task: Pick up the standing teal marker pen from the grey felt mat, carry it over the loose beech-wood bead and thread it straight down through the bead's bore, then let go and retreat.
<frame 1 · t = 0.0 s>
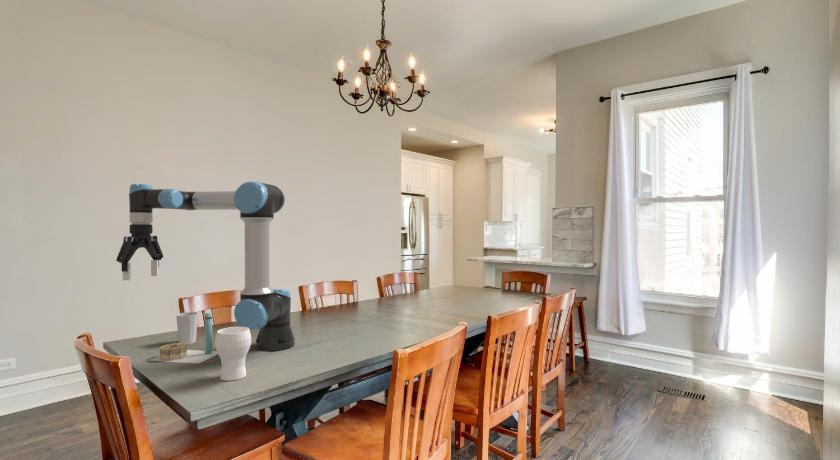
hand: (141, 278, 166), 28 cm above the table, fingers open, 13 cm apart
bead: (173, 357, 155), resting on mat
mat: (186, 356, 157), on the table
teal marker pen: (208, 353, 160), resting on mat
cup: (187, 343, 176), on the table
cup 2: (233, 377, 136), on the table
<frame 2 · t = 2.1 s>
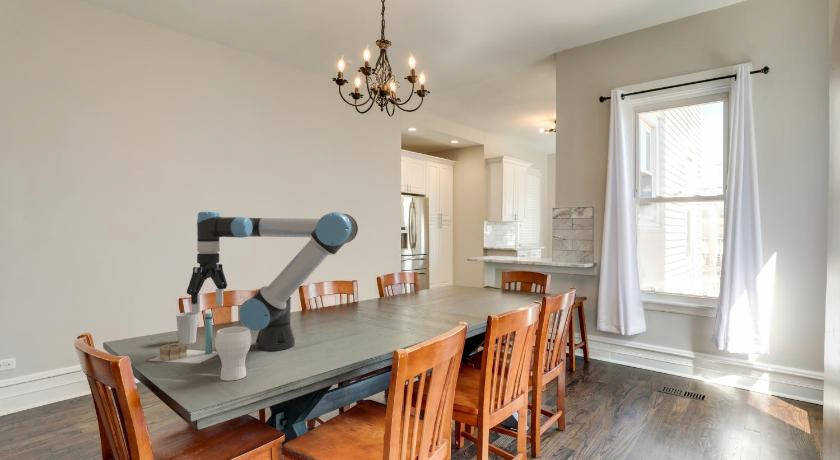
hand: (208, 309, 160), 17 cm above the table, fingers open, 13 cm apart
nothing on the table moved.
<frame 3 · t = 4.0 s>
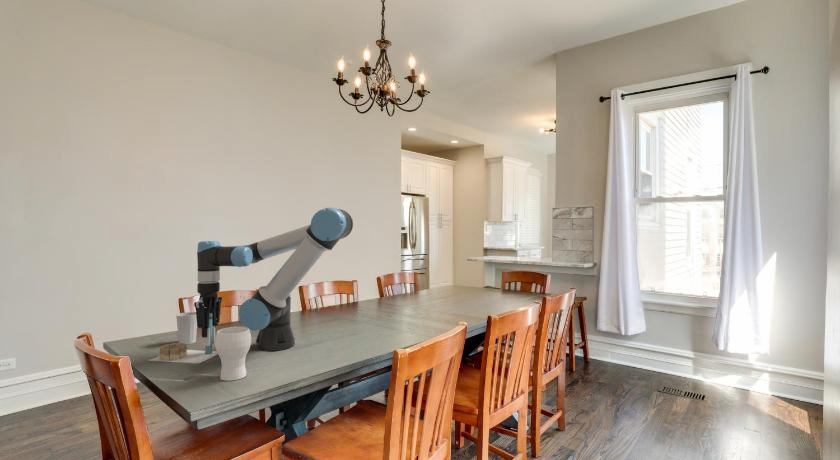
hand: (208, 344, 160), 4 cm above the table, fingers closed on teal marker pen, 2 cm apart
teal marker pen: (208, 353, 160), resting on mat, touching gripper
everything else where it was.
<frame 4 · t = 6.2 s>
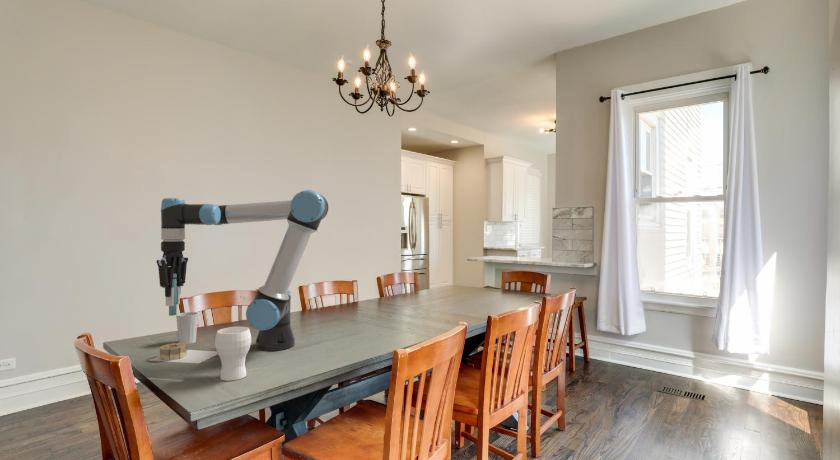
hand: (172, 304, 155), 20 cm above the table, fingers closed on teal marker pen, 2 cm apart
teal marker pen: (172, 314, 155), point 16 cm above the table, touching gripper
everything else where it was.
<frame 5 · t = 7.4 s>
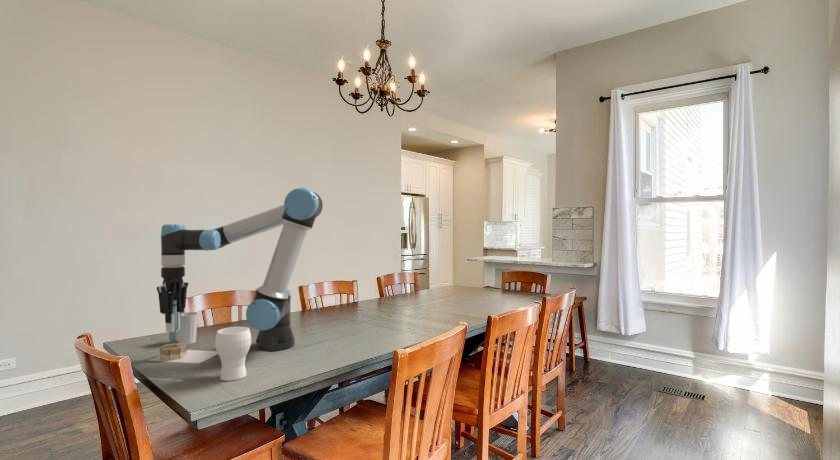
hand: (173, 330, 155), 10 cm above the table, fingers closed on teal marker pen, 2 cm apart
teal marker pen: (172, 341, 155), point 6 cm above the table, touching gripper
everything else where it was.
when the fingers open (6 cm above the table, at t = 8.4 s): teal marker pen drops 1 cm, resting on mat.
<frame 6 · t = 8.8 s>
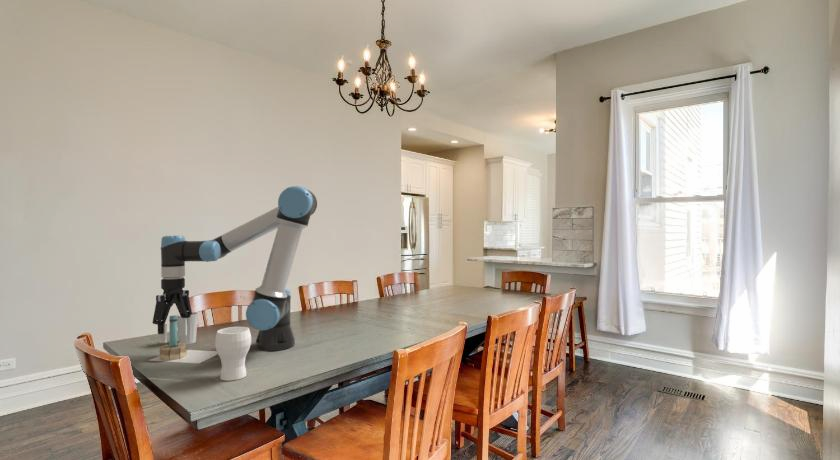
hand: (173, 338, 155), 7 cm above the table, fingers open, 9 cm apart
teal marker pen: (173, 356, 155), resting on mat
everything else where it was.
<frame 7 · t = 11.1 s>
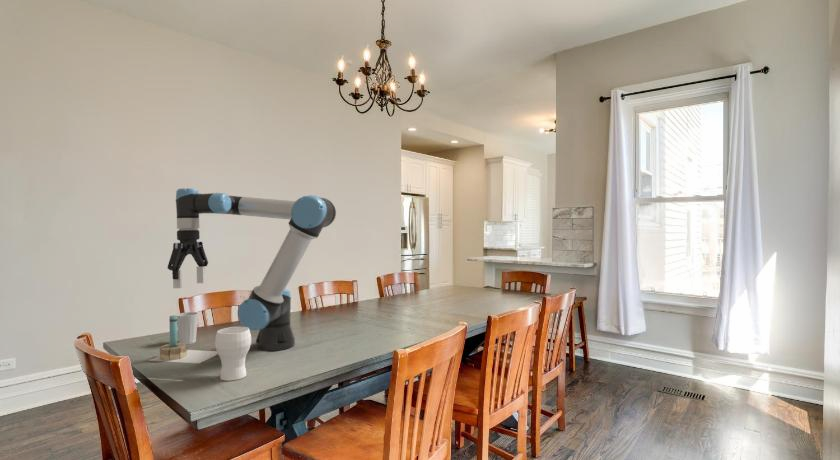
hand: (189, 285, 161), 26 cm above the table, fingers open, 13 cm apart
nothing on the table moved.
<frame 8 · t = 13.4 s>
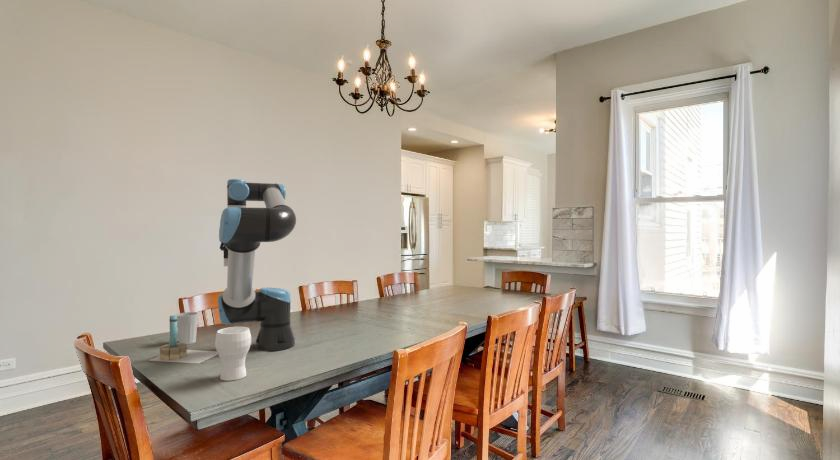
hand: (236, 264, 183), 32 cm above the table, fingers open, 13 cm apart
nothing on the table moved.
at the end: teal marker pen 0.1 cm off-centre on the bead, point 0.0 cm above the bead's base; teal marker pen tilted 0°; the gripper is holding nothing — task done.
